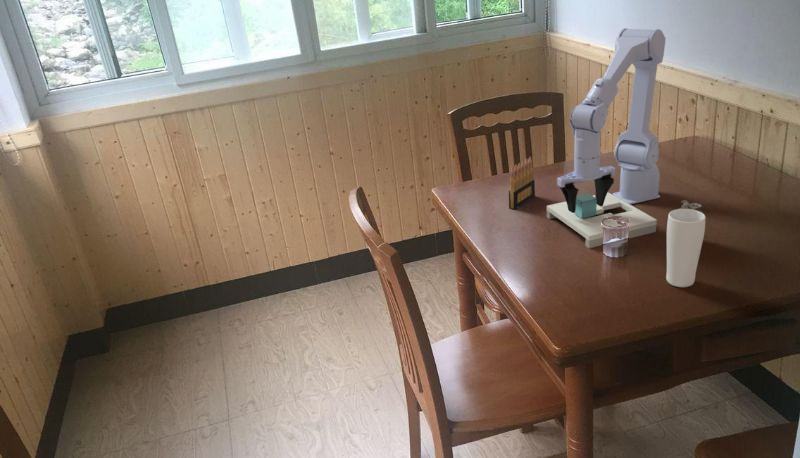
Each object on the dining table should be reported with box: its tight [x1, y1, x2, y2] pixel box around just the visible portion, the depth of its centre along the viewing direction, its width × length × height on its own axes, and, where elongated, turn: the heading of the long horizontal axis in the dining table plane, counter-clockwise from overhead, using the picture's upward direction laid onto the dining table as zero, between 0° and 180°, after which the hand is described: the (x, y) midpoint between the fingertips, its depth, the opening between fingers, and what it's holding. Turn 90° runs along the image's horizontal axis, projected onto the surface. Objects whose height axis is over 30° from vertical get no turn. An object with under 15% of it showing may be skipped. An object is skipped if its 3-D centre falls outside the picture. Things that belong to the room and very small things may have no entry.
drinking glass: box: [665, 208, 707, 288], centre depth 123 cm, size 7×7×15 cm
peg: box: [574, 192, 597, 219], centre depth 151 cm, size 4×4×8 cm
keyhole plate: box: [546, 191, 658, 249], centre depth 153 cm, size 18×20×3 cm
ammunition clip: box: [508, 156, 536, 210], centre depth 168 cm, size 11×2×12 cm, turn 138°
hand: (585, 208), depth 151 cm, fingers open, 7 cm apart
